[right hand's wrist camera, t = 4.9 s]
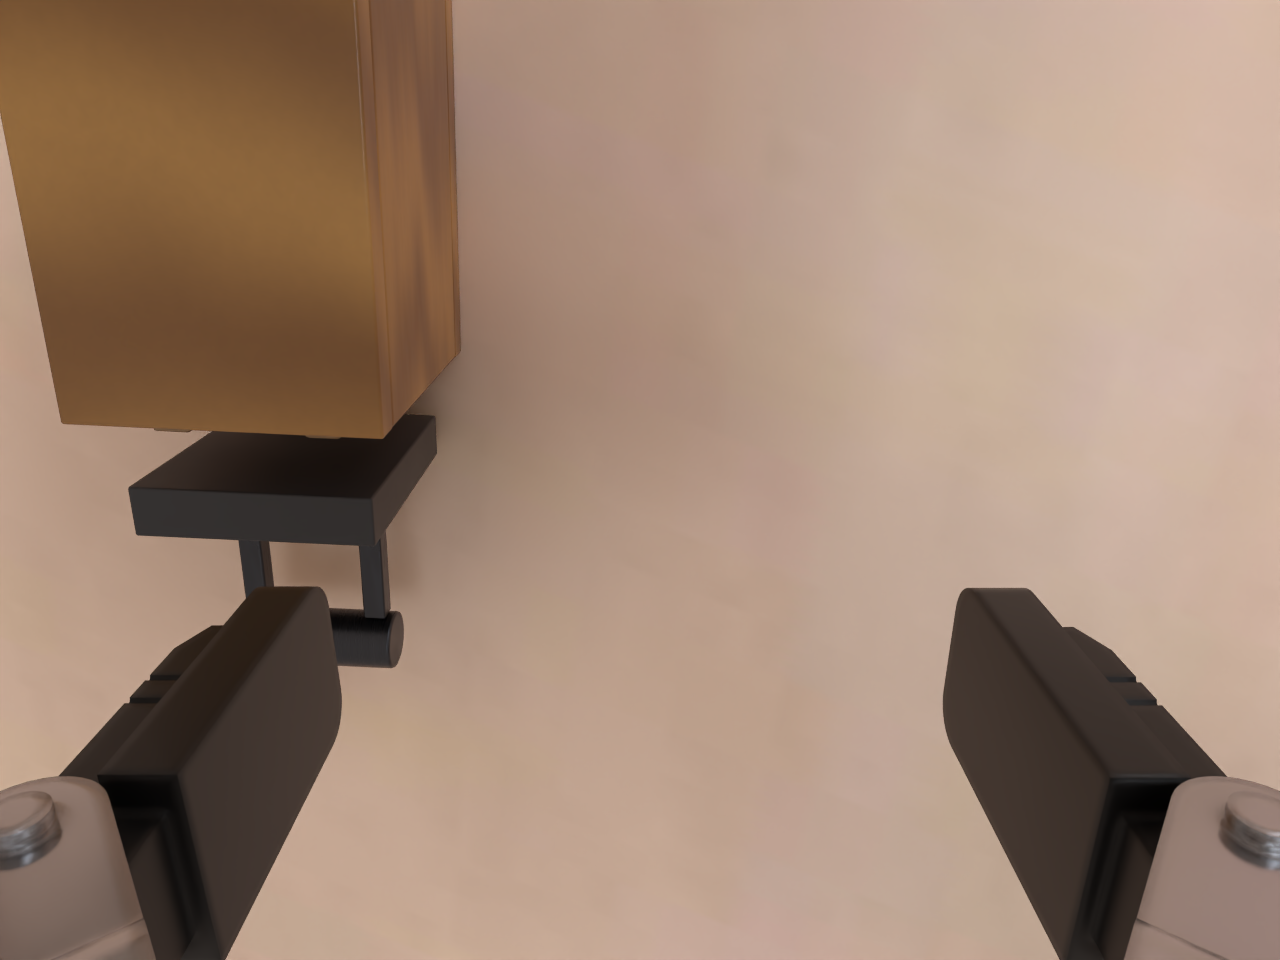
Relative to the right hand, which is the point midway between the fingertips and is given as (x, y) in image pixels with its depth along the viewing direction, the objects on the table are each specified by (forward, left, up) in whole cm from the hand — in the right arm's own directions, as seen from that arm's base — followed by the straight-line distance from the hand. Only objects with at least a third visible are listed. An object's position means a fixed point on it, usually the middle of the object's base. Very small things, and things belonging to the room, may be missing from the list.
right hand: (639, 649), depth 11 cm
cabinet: (+5, +10, -16) cm, 20 cm away
